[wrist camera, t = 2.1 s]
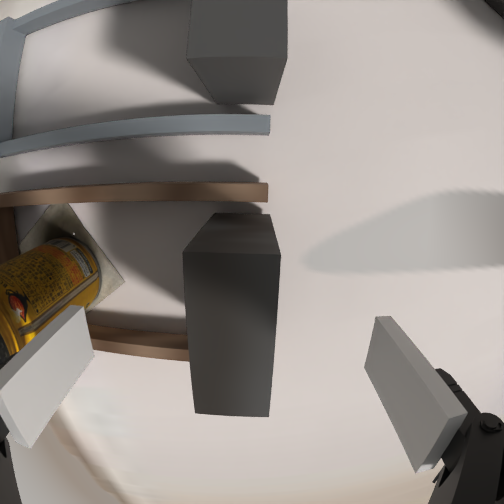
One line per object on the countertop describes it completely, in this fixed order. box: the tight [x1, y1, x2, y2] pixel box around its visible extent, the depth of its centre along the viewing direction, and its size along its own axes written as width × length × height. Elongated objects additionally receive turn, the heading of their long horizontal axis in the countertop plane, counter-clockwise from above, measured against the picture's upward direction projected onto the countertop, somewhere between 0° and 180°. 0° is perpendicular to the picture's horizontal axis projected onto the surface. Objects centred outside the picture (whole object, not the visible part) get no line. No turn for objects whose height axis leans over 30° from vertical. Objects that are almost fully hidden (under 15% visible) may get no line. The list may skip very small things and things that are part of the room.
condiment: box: [0, 203, 125, 365], centre depth 16 cm, size 7×8×12 cm
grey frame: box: [0, 0, 288, 158], centre depth 12 cm, size 22×12×9 cm, turn 88°
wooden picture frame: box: [0, 182, 281, 417], centre depth 16 cm, size 22×12×9 cm, turn 88°
